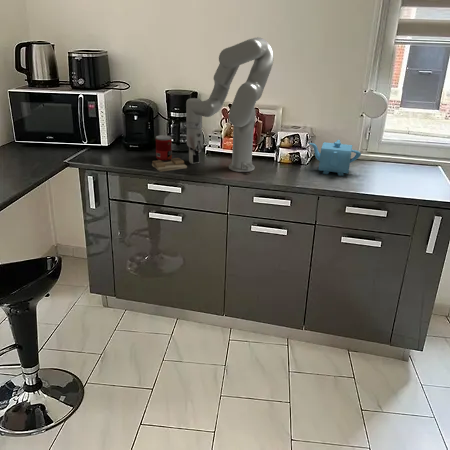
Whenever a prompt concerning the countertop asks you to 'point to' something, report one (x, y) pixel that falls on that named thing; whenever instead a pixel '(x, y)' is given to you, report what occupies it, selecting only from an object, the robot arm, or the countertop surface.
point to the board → (169, 165)
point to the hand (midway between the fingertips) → (194, 161)
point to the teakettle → (335, 157)
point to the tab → (191, 156)
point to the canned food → (163, 147)
